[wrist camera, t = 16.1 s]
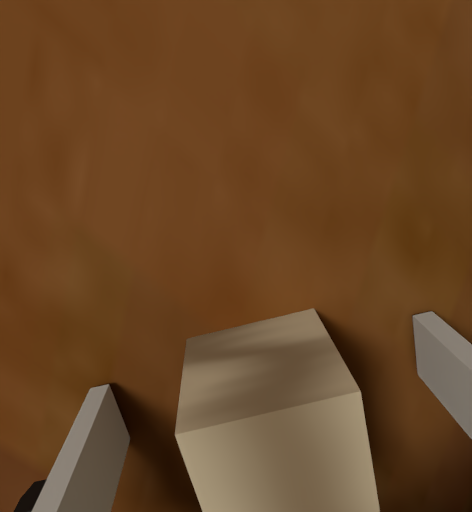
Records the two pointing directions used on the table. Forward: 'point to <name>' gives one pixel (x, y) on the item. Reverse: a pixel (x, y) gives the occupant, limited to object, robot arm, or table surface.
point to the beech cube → (274, 421)
